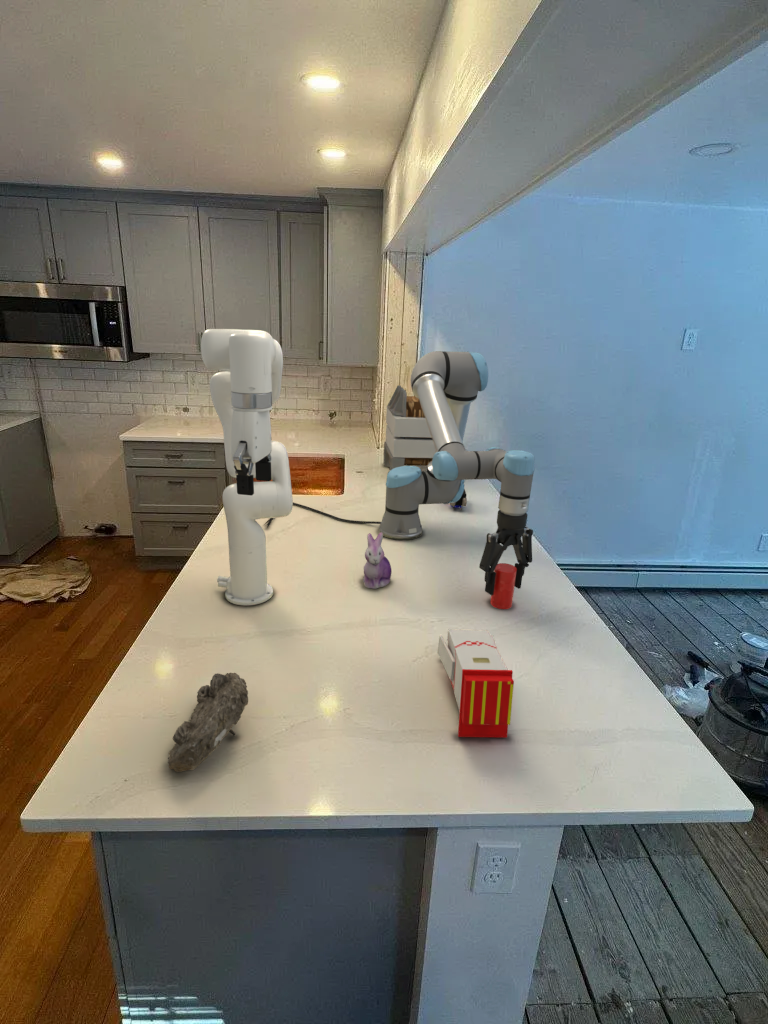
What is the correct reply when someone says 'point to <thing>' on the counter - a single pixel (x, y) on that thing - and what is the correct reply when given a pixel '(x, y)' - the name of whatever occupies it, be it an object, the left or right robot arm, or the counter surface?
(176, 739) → the fossil
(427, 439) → the grey wooden crate
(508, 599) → the can
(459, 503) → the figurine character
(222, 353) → the left robot arm
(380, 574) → the figurine
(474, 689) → the toy
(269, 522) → the feather
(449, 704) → the counter surface
